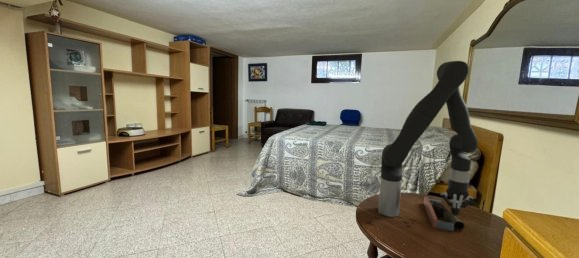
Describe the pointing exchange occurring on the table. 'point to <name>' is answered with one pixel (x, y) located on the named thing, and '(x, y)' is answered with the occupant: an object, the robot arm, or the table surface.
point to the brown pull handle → (433, 218)
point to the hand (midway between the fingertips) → (454, 214)
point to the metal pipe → (447, 216)
